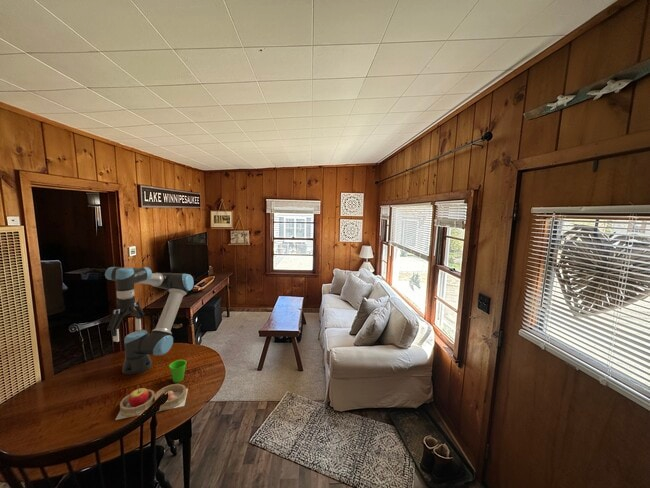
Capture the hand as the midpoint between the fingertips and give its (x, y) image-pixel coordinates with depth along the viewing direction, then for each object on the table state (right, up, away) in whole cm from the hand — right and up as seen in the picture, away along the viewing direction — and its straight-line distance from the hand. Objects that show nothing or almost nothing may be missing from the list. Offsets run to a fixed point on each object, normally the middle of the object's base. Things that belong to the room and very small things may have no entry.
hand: (127, 335), depth 139 cm
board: (+18, -34, -5) cm, 39 cm away
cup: (+20, -32, +14) cm, 40 cm away
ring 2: (+25, -33, -3) cm, 41 cm away
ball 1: (+23, -33, -1) cm, 40 cm away
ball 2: (+26, -33, -5) cm, 43 cm away
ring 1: (+12, -33, -8) cm, 36 cm away
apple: (+12, -33, -8) cm, 36 cm away
